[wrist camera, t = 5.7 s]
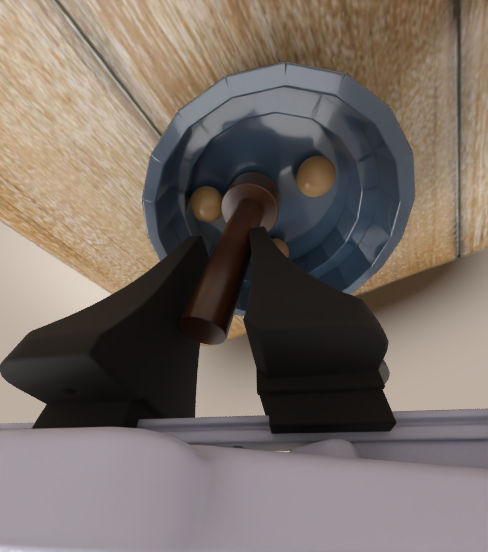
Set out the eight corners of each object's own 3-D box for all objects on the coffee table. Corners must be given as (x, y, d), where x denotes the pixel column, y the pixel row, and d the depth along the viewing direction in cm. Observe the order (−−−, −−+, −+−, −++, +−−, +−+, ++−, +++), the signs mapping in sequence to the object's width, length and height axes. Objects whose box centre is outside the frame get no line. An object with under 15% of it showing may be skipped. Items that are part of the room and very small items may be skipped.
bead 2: (287, 254, 16) (291, 272, 15) (260, 258, 17) (261, 275, 15) (286, 230, 15) (290, 246, 14) (256, 234, 15) (257, 251, 14)
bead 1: (236, 210, 13) (213, 234, 13) (216, 197, 14) (194, 219, 14) (222, 186, 12) (196, 213, 12) (201, 173, 13) (176, 198, 13)
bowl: (355, 265, 17) (380, 309, 14) (203, 282, 19) (192, 325, 16) (394, 41, 10) (473, 16, 6) (133, 103, 11) (81, 110, 8)
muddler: (261, 231, 15) (224, 364, 9) (219, 205, 14) (145, 329, 8) (292, 193, 12) (272, 335, 6) (244, 159, 12) (167, 282, 6)
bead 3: (328, 186, 13) (338, 199, 12) (294, 192, 13) (299, 205, 12) (331, 148, 12) (343, 157, 10) (293, 155, 12) (298, 165, 11)
